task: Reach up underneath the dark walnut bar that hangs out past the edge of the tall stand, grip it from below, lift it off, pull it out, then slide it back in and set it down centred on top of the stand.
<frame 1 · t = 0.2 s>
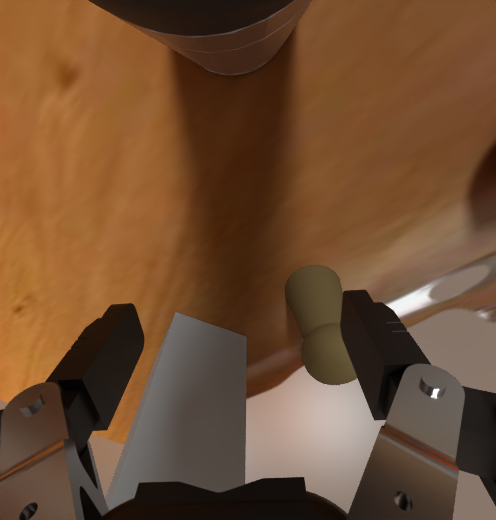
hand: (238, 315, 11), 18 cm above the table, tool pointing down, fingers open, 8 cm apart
cork: (312, 287, 32), on the table
stand: (199, 349, 37), on the table
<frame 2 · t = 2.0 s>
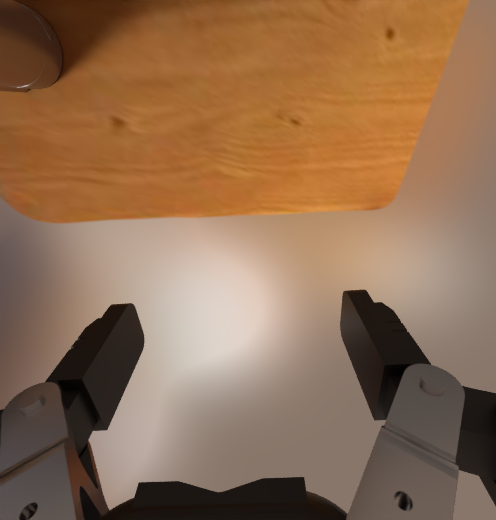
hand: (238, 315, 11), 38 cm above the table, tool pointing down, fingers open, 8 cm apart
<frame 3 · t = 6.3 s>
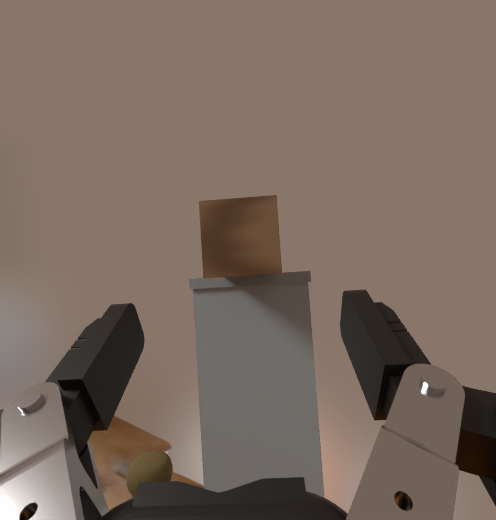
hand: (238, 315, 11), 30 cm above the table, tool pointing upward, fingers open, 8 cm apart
walnut bar: (250, 275, 25), point 32 cm above the table, touching stand
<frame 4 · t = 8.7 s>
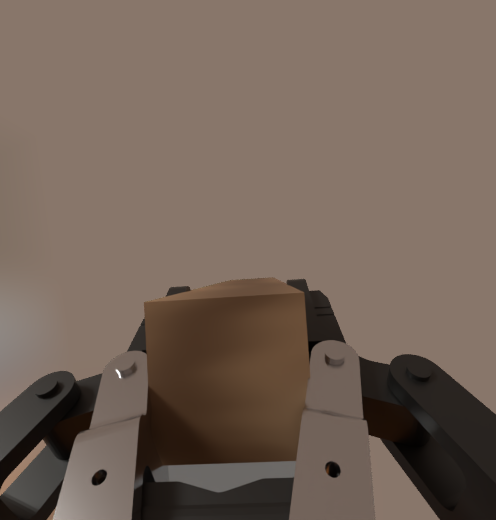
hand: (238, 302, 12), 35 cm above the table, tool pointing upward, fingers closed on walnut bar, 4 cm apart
walnut bar: (250, 351, 17), point 32 cm above the table, touching gripper, stand
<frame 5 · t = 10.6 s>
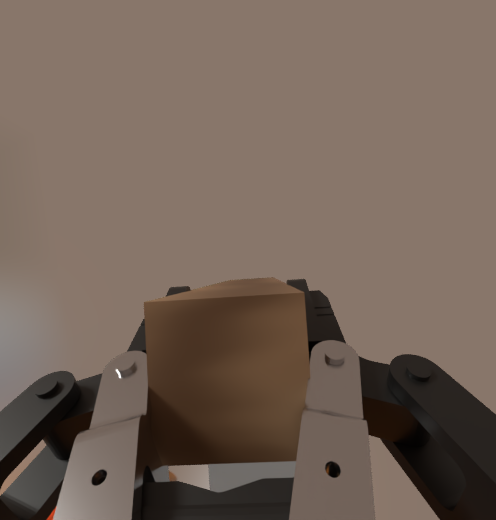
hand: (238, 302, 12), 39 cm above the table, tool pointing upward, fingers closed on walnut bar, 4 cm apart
walnut bar: (250, 351, 17), point 36 cm above the table, touching gripper
when the fingers open (37 cm above the table, at t = 12.9 s): walnut bar drops 1 cm, resting on stand.
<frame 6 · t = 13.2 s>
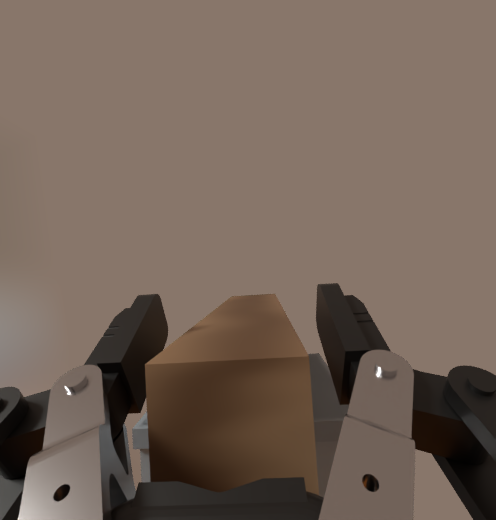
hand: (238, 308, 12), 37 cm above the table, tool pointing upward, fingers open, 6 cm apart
walnut bar: (251, 378, 17), point 32 cm above the table, touching stand
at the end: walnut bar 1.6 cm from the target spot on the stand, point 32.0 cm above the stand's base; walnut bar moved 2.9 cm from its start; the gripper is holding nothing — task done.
